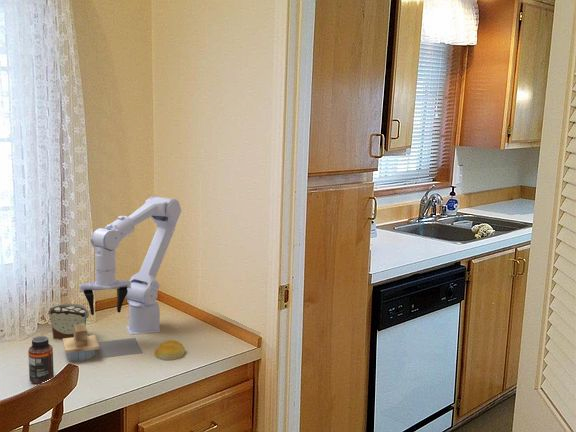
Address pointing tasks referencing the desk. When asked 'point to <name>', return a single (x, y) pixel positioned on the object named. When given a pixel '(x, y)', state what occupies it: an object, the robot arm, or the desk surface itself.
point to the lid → (80, 340)
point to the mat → (118, 348)
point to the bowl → (80, 355)
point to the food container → (66, 319)
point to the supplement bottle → (40, 360)
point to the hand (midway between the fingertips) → (105, 312)
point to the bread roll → (170, 350)
